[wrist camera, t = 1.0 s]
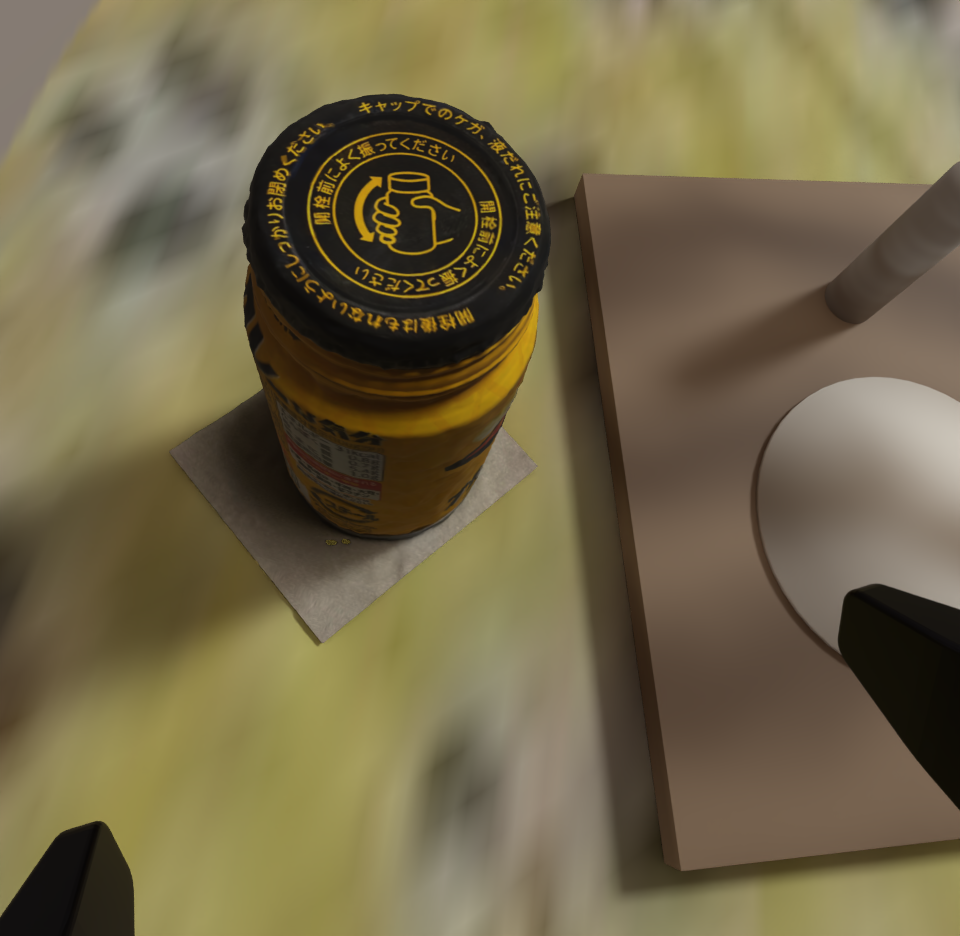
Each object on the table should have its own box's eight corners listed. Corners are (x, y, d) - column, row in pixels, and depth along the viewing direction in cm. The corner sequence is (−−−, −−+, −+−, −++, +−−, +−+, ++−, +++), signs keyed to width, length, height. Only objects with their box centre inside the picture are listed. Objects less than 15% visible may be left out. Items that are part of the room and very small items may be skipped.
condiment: (536, 468, 24) (681, 249, 13) (322, 644, 22) (275, 558, 11) (391, 306, 26) (410, -23, 14) (171, 455, 23) (-18, 195, 12)
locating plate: (1210, 800, 24) (1541, 830, 17) (664, 863, 21) (803, 928, 14) (1008, 207, 31) (1189, 61, 24) (574, 195, 28) (640, 26, 21)
